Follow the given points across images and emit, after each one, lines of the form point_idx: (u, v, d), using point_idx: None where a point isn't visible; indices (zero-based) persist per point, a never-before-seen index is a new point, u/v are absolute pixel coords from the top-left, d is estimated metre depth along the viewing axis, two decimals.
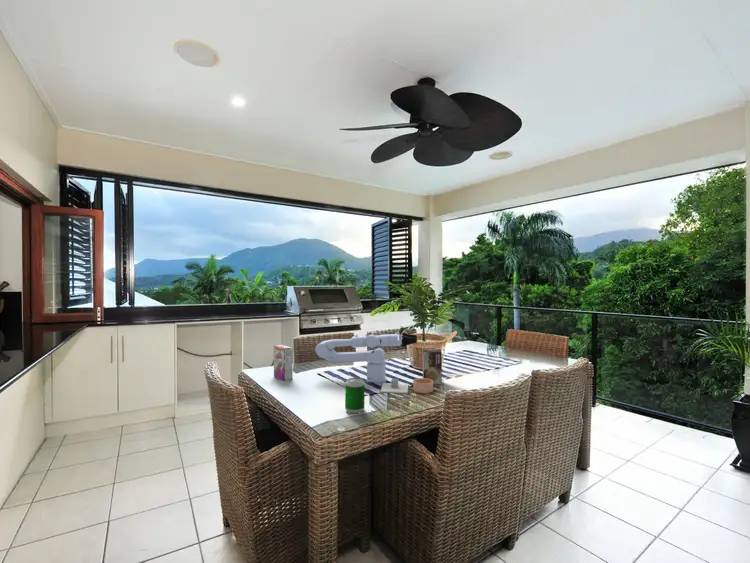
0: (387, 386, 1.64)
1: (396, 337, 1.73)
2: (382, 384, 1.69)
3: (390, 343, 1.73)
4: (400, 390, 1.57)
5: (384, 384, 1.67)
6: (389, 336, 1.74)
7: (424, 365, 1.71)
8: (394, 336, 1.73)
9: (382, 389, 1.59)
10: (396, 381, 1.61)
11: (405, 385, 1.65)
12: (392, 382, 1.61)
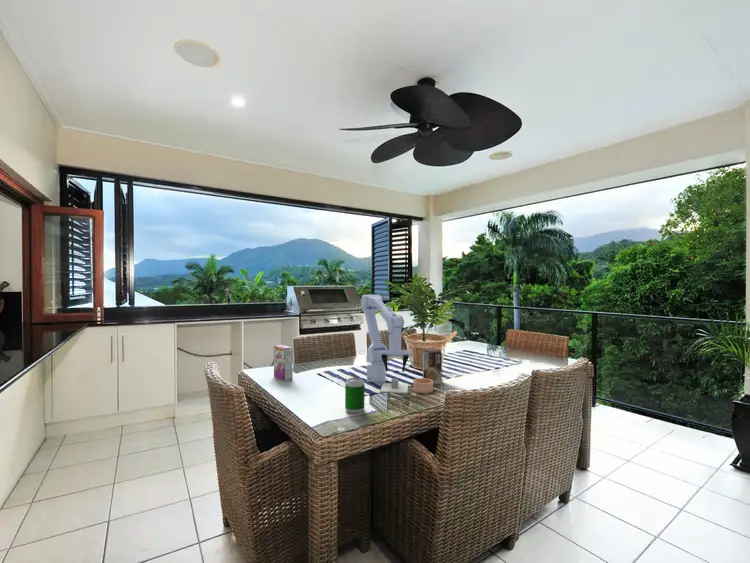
0: (387, 386, 1.64)
1: (389, 350, 1.61)
2: (382, 384, 1.69)
3: None
4: (400, 390, 1.57)
5: (384, 384, 1.67)
6: (390, 343, 1.61)
7: (424, 365, 1.71)
8: (390, 348, 1.61)
9: (382, 389, 1.59)
10: (396, 381, 1.61)
11: (405, 385, 1.65)
12: (392, 382, 1.61)
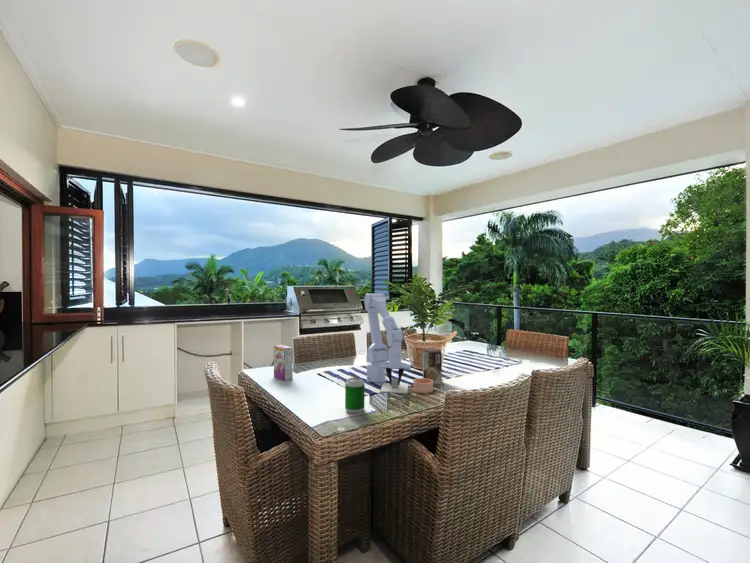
0: (387, 386, 1.64)
1: (389, 364, 1.61)
2: (382, 384, 1.69)
3: None
4: (400, 390, 1.57)
5: (384, 384, 1.67)
6: (390, 356, 1.61)
7: (424, 365, 1.71)
8: (390, 362, 1.61)
9: (382, 389, 1.59)
10: (396, 381, 1.61)
11: (405, 385, 1.65)
12: (392, 382, 1.61)
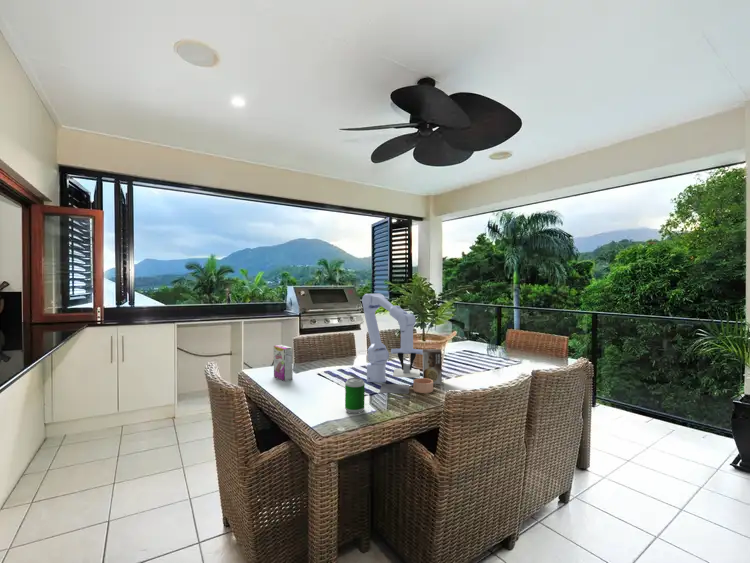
0: (399, 371, 1.63)
1: (401, 348, 1.60)
2: (382, 384, 1.69)
3: None
4: (412, 375, 1.57)
5: (396, 370, 1.66)
6: (402, 341, 1.60)
7: (424, 365, 1.71)
8: (402, 346, 1.60)
9: (394, 374, 1.58)
10: (408, 366, 1.60)
11: (417, 370, 1.64)
12: (404, 367, 1.60)
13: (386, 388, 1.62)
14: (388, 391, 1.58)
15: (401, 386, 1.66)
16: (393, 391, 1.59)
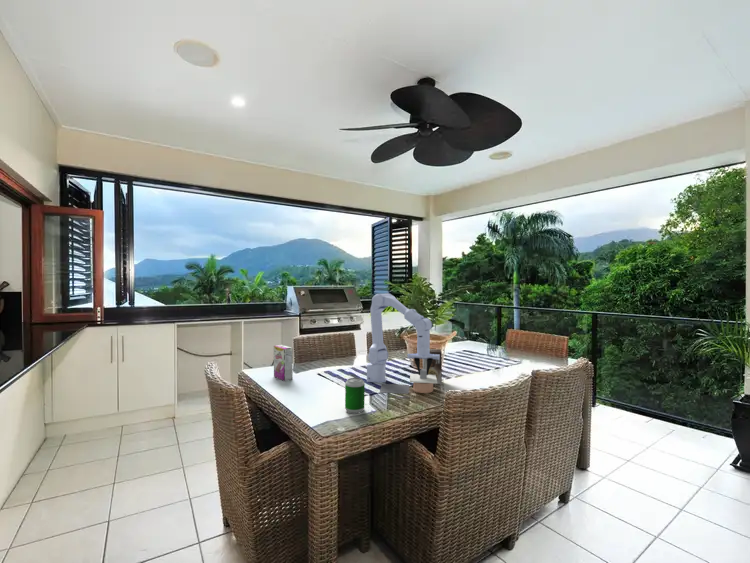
0: (415, 377, 1.62)
1: (418, 353, 1.60)
2: (382, 384, 1.69)
3: None
4: (429, 381, 1.56)
5: (412, 375, 1.65)
6: (419, 346, 1.59)
7: (424, 365, 1.71)
8: (419, 351, 1.59)
9: (411, 379, 1.57)
10: (425, 371, 1.59)
11: (433, 376, 1.64)
12: (421, 372, 1.60)
13: (386, 388, 1.62)
14: (388, 391, 1.58)
15: (401, 386, 1.66)
16: (393, 391, 1.59)
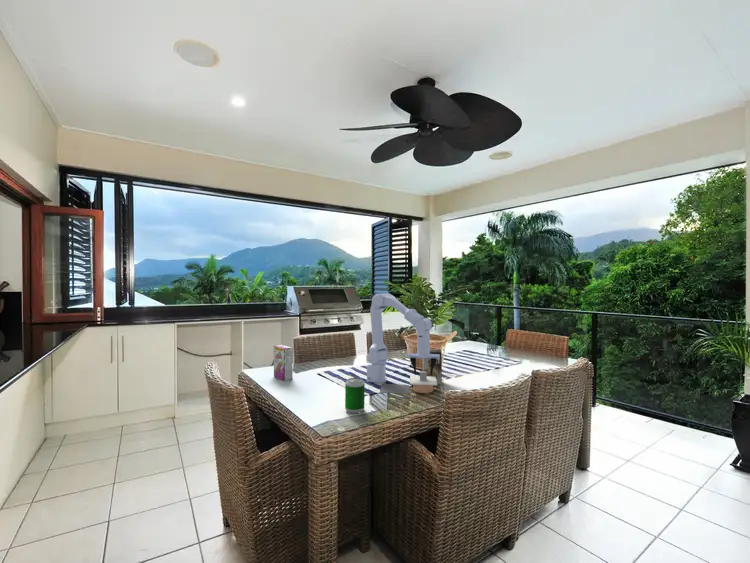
0: (415, 379, 1.62)
1: (418, 353, 1.60)
2: (382, 384, 1.69)
3: None
4: (429, 383, 1.56)
5: (412, 377, 1.65)
6: (419, 346, 1.59)
7: (424, 365, 1.71)
8: (419, 351, 1.59)
9: (411, 381, 1.58)
10: (425, 373, 1.59)
11: (433, 378, 1.64)
12: (421, 374, 1.60)
13: (386, 388, 1.62)
14: (388, 391, 1.58)
15: (401, 386, 1.66)
16: (393, 391, 1.59)
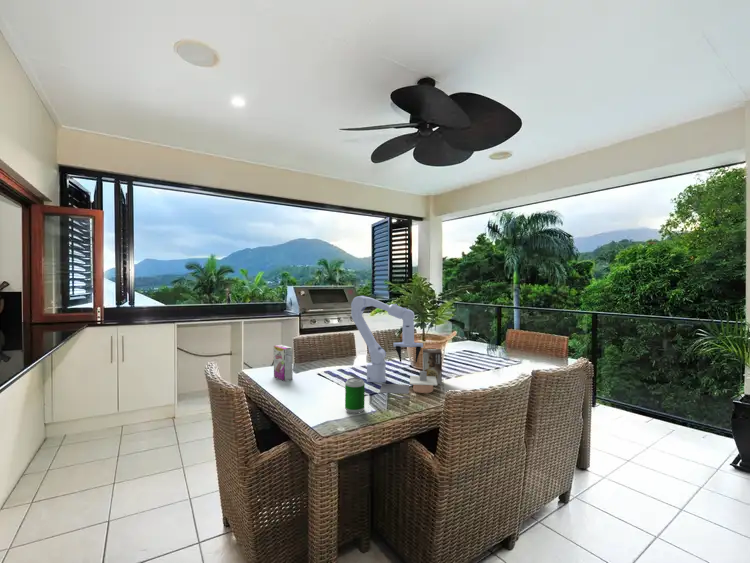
0: (415, 379, 1.62)
1: (403, 342, 1.72)
2: (382, 384, 1.69)
3: None
4: (429, 383, 1.56)
5: (412, 377, 1.65)
6: (404, 335, 1.71)
7: (424, 365, 1.70)
8: (404, 340, 1.72)
9: (411, 381, 1.58)
10: (425, 373, 1.59)
11: (433, 378, 1.64)
12: (421, 374, 1.60)
13: (386, 388, 1.62)
14: (388, 391, 1.58)
15: (401, 386, 1.66)
16: (393, 391, 1.59)
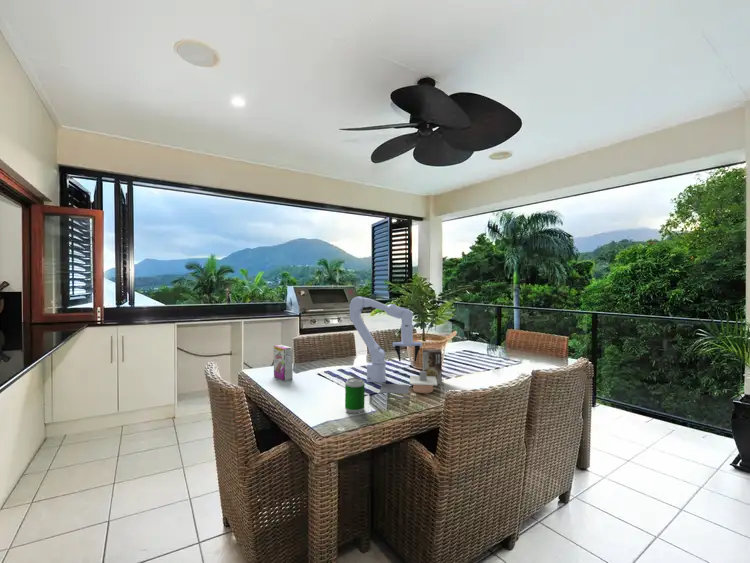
0: (415, 379, 1.62)
1: (402, 341, 1.73)
2: (382, 384, 1.69)
3: None
4: (429, 383, 1.56)
5: (412, 377, 1.65)
6: (403, 334, 1.73)
7: (424, 365, 1.71)
8: (403, 339, 1.73)
9: (411, 381, 1.58)
10: (425, 373, 1.59)
11: (433, 378, 1.64)
12: (421, 374, 1.60)
13: (386, 388, 1.62)
14: (388, 391, 1.58)
15: (401, 386, 1.66)
16: (393, 391, 1.59)
